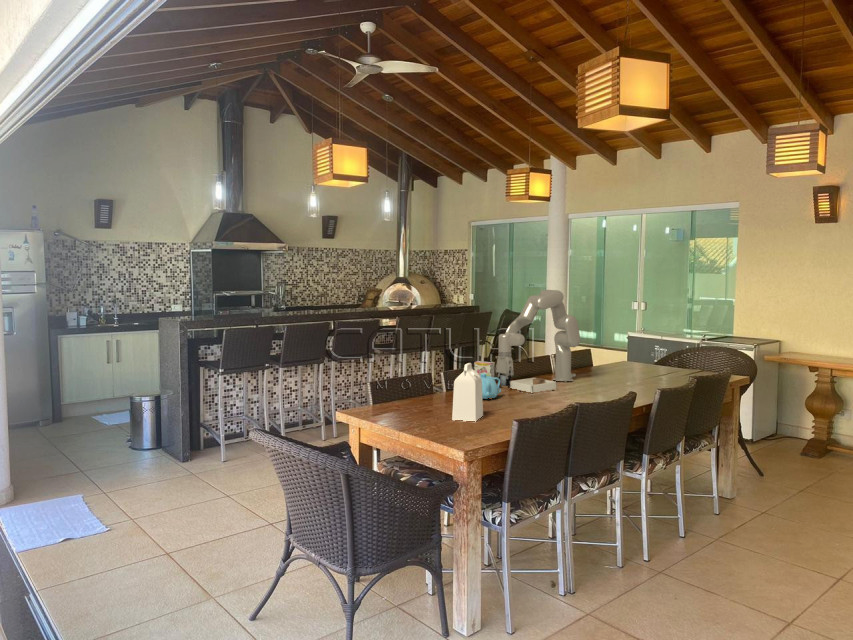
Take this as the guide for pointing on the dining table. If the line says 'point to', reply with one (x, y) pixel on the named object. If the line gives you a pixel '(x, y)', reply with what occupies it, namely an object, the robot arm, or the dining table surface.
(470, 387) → the milk
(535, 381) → the walnut cube
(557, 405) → the dining table surface
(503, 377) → the slate capsule
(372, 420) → the dining table surface
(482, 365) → the candy bar box
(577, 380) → the dining table surface
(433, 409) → the dining table surface
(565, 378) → the robot arm
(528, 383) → the tote
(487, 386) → the decorative pot
